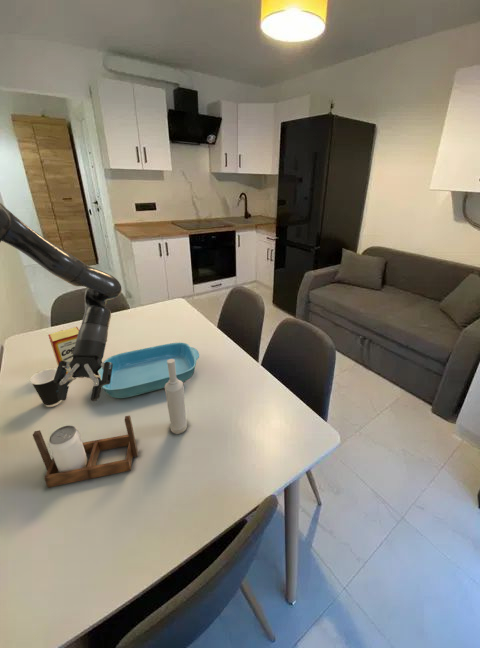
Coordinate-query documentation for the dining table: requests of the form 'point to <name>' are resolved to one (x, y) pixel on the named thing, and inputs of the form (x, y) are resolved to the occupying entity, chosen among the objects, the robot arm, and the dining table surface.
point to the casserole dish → (148, 369)
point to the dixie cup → (46, 386)
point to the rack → (94, 448)
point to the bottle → (175, 400)
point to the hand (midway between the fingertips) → (77, 400)
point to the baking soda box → (64, 344)
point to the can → (67, 449)
